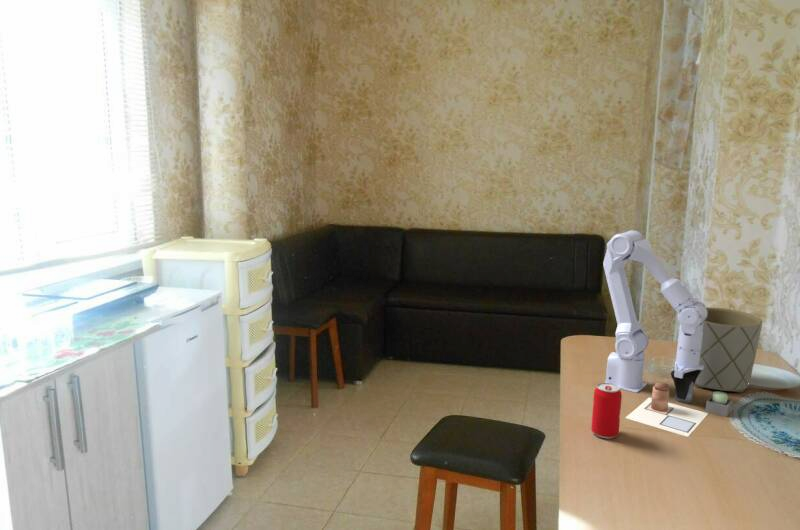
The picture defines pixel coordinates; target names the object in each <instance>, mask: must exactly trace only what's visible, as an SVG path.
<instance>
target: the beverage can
mask: <svg viewBox="0 0 800 530" xmlns="http://www.w3.org/2000/svg"><path fill="white" fill-rule="evenodd" d="M622 397H623V394H622V391H621V389H620V387H619V386H617V385H615V384H612V383H605V382H600V383H597V384H596V387H595V389H594V390H593V399H592V400H593V404H592V416H591V428H590V429H591V432H592V433H593V434H594V435H595V436H597V437H598V438H602V439H613V438H615V437H618V435H619V431H620V424H621V423H620V421H621V409H622Z"/></svg>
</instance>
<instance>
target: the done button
mask: <svg viewBox="0 0 800 530" xmlns="http://www.w3.org/2000/svg"><path fill="white" fill-rule="evenodd" d="M712 392H713V393H712V395H713V398H712V402H715V403H719V404H722V405H727V399H729V398H728V396H729V395H728V393H727V392H724V391H719V390H716V391H712Z"/></svg>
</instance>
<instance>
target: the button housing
mask: <svg viewBox="0 0 800 530" xmlns="http://www.w3.org/2000/svg"><path fill="white" fill-rule="evenodd" d="M712 398H713V394H711V395H710V396H709V397H708V398H707V400H706V402H705V409H704V411H705V413H711V414H714V415H718V416H722V417H725V418H726V417H728V415H729V414H730V413H731V412H732V408H733V402H734V400H732V399H729V398H727V405H722V404H719V403H715V402H712Z"/></svg>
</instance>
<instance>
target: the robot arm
mask: <svg viewBox="0 0 800 530" xmlns="http://www.w3.org/2000/svg"><path fill="white" fill-rule="evenodd" d="M630 260H631V261H636V262H640V263H642V265H643V266H644V267H645V268H646V269H647V270H648V272H650V274H651V275H652V276H653V277H654V278H655V279H656V281H657V282H658V283H659V285H660V286H661V287H660V293H661V294H662V295H663V297H664V298H665V299H666V301H667V302H668V303H669V304H670V306H671V307H672V308H673V309H674V311H675V312H676V313H678V314H677V315H676V316H677V317H676V318H677V321H678V322H679V329H678V337H677V338H678V339H677V348H676V356H675V360H674V369H673V370H672V371H671V372H670V377H671V379H672V380H673V383H674V388H675V389H674V390H675V397H676V396H677V398H680V399H684V400H685V399H686V397H687V394H688V390H689V387H690V384H691V382H692V381H693V382H694V384H695V381H696V379H697V377H698V375H699V374H700V373H701V371H702V370H703V369H704V366H702V365H700V354H701V346H702V337H703V324H704V323H702V322H703V321H704V320H705V319H706V317H707V314H708V312H707V309H706V307H707V306H706V305H705V304H704V303H703V302H701V301H699V299H698V298H697V297H695V296H693V295H692V293H691V292H690V291H689V289H688V288H687V286H688V285H687V283H686V282H685V281H682V280H680V279H679V278H674V277H672V276H671V273H670V272H669V270H667V268H666V267H665V265H664V264H663V263H662V261H661V260H660V258H659V256H658V255H657V254H656V253H655V251H654V250H653V249H652V246H651V244H650V243H649V241H648V240H647V239H646V238H644V236H643V234H641V233H640V232H639V231H637V230H633V229H632V230H631V229H630V230H628V231H626V232H622V233H617V234H614V235H613V236H612V237H611V238H610V240H609V241H608V242H607V243H606V252H605V256H604V259H603V263H602V264H603V269H604V273H605V277H606V278H605V280H606V282H607V283H606V284H607V286H608V290H609V295H610V298H611V303H612V307H613V311H614V315H615V319H616V323H617V327H616V330H615V342H614V343H615V344H614V348H615V351H612V352H610V354H609V355H608V358H607V362H606V372H605V373H606V374H605V381H604V383H612V384H615V385H617V386H619V387H620V390H624V391H629V392H632V393H636V394H637V393H639V392H641V390H642V389H644V388H645V387H646V386H647V385H648V383H647V382H644V381H643V376H644V366H645V357H646V356H645V352H644V351H645V350H646V349H648V347H649V343H650V341H649V337H648V335H647V334H646V333H645V331H644V328H643V325H642V324H641V323H640V322H639V321H638V319H637V315H636V312H635V307H634V303H633V299H632V294H631V290H630V287H629V281H628V277H627V274H626V269H625V266H626V264H627V263H628V261H630ZM694 384H693V388H694V387H695V386H694Z"/></svg>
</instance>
